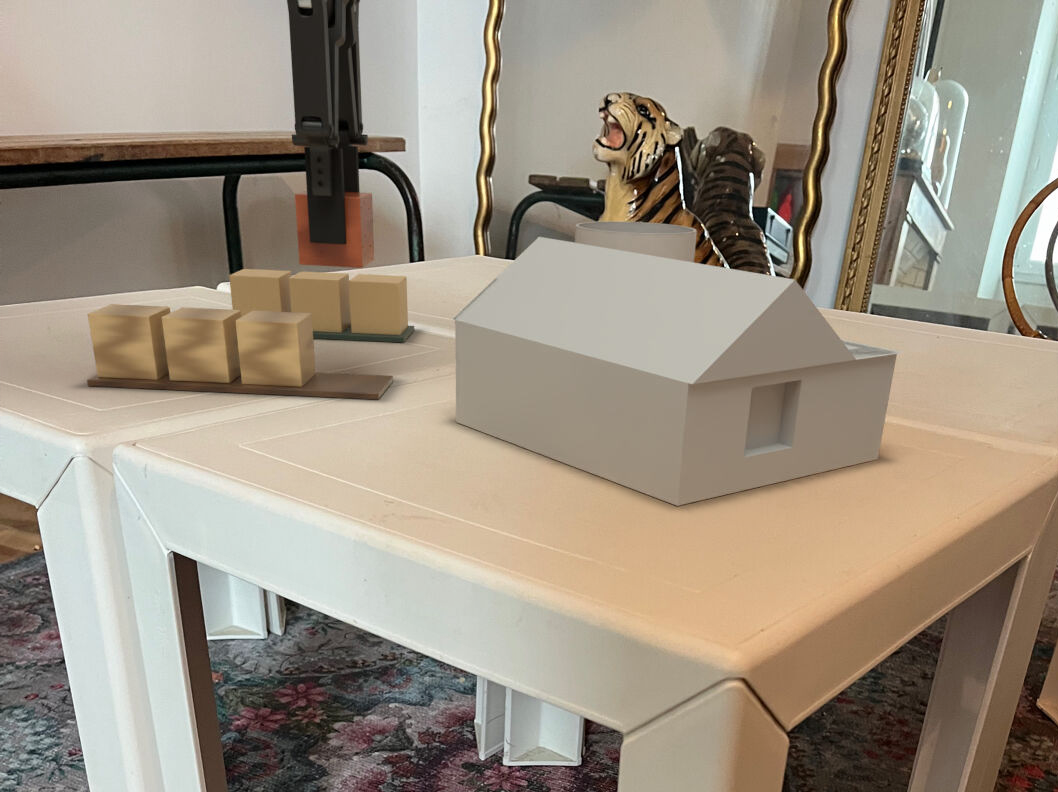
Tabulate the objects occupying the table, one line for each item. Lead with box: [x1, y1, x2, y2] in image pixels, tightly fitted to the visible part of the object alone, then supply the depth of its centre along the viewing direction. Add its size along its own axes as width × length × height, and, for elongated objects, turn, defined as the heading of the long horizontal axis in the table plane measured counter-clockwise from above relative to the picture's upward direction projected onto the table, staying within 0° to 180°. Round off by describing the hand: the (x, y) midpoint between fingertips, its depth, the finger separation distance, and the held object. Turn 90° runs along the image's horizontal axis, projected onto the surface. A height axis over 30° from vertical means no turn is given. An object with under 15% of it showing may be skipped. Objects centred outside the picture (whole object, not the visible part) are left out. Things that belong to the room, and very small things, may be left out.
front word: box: [86, 303, 394, 400], centre depth 94 cm, size 24×7×6 cm, turn 88°
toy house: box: [452, 236, 906, 507], centre depth 81 cm, size 25×21×13 cm
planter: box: [574, 220, 698, 263], centre depth 121 cm, size 13×13×10 cm
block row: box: [228, 268, 415, 344], centre depth 115 cm, size 24×7×6 cm, turn 88°
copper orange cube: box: [294, 190, 375, 269], centre depth 89 cm, size 5×5×5 cm
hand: (336, 238), depth 89 cm, fingers closed on copper orange cube, 5 cm apart
